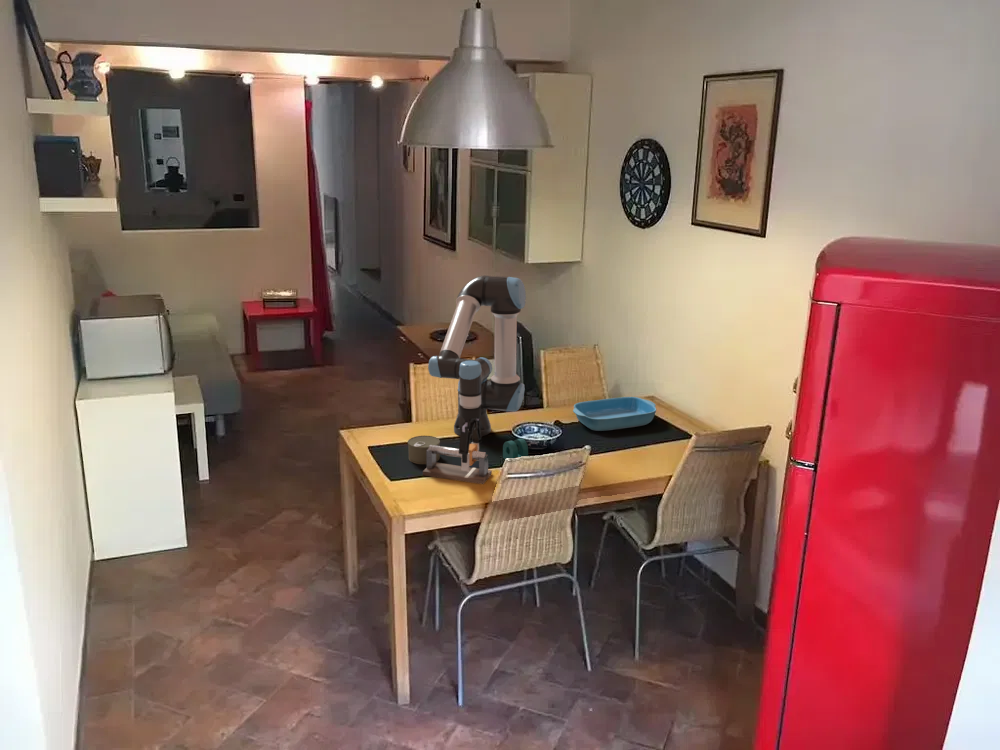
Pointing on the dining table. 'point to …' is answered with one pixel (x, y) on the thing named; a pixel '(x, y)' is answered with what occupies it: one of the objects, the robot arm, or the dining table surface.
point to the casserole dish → (615, 413)
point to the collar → (471, 448)
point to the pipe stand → (454, 470)
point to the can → (421, 448)
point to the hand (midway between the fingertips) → (470, 465)
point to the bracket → (515, 448)
